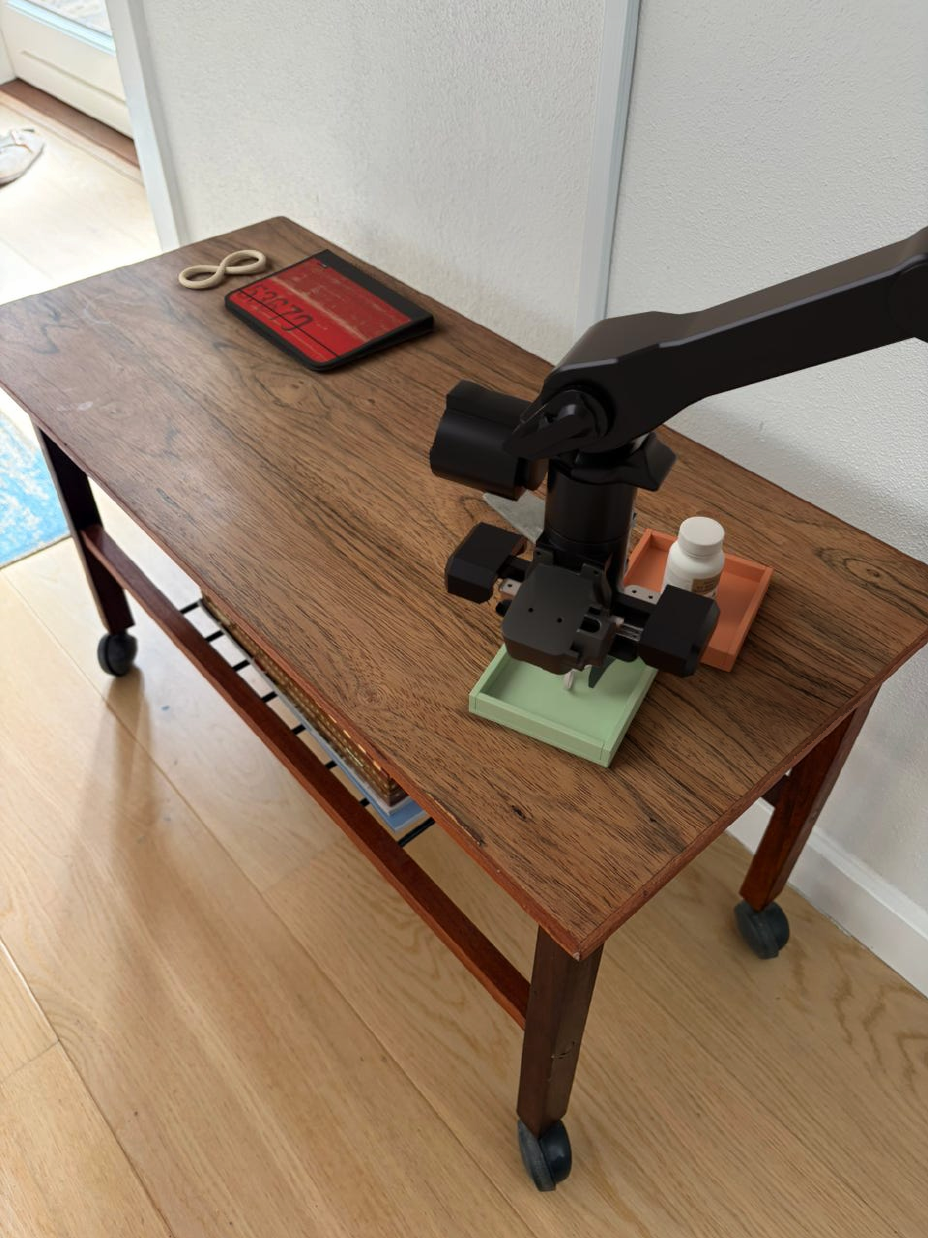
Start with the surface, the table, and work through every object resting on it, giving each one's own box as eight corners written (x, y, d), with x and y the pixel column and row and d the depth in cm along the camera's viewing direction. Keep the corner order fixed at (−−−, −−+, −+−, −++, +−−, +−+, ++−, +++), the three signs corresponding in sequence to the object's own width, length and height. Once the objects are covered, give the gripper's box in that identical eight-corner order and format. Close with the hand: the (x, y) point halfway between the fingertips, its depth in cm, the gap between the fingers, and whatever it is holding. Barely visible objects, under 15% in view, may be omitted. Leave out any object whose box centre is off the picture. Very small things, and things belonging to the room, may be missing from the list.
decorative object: (274, 266, 126) (254, 251, 129) (272, 258, 125) (252, 243, 128) (191, 294, 121) (172, 278, 124) (189, 286, 120) (170, 270, 123)
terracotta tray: (768, 585, 87) (774, 568, 85) (729, 672, 80) (734, 655, 78) (644, 544, 90) (647, 527, 89) (596, 624, 83) (598, 607, 82)
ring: (563, 702, 76) (567, 674, 74) (545, 679, 78) (548, 651, 76) (592, 690, 77) (596, 663, 75) (573, 668, 79) (576, 640, 77)
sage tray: (660, 665, 80) (664, 648, 79) (607, 768, 73) (610, 751, 72) (531, 618, 84) (532, 600, 82) (468, 711, 77) (468, 694, 75)
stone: (604, 539, 89) (563, 562, 86) (601, 552, 90) (561, 575, 87) (512, 473, 95) (471, 493, 92) (510, 486, 96) (470, 506, 93)
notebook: (328, 246, 125) (435, 312, 114) (330, 263, 127) (436, 330, 116) (214, 291, 118) (317, 366, 107) (218, 309, 120) (320, 385, 109)
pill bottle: (697, 628, 82) (715, 556, 77) (649, 604, 84) (663, 533, 79) (722, 598, 85) (741, 526, 79) (675, 576, 87) (691, 504, 81)
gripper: (401, 543, 64) (409, 704, 75) (686, 643, 58) (649, 802, 69) (481, 450, 71) (478, 609, 82) (742, 531, 65) (701, 691, 76)
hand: (569, 675), depth 77 cm, fingers closed on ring, 3 cm apart
